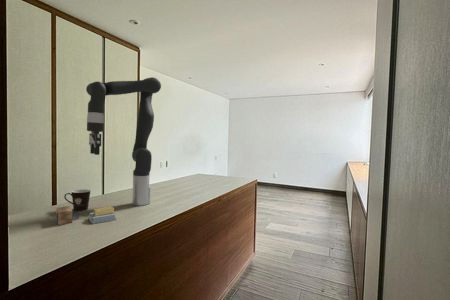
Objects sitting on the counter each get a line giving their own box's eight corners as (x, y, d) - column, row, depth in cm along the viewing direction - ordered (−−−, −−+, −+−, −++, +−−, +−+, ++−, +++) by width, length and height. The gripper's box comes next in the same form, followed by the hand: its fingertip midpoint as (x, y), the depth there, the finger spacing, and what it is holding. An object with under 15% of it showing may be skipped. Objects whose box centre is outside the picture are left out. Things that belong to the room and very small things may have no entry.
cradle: (110, 215, 121) (111, 209, 120) (116, 219, 114) (116, 214, 114) (88, 218, 114) (88, 213, 114) (92, 223, 108) (92, 218, 108)
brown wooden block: (69, 217, 114) (69, 206, 114) (71, 222, 108) (72, 210, 107) (56, 219, 111) (56, 207, 111) (58, 225, 104) (58, 212, 104)
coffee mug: (93, 208, 130) (94, 190, 130) (80, 212, 122) (80, 193, 121) (76, 205, 133) (77, 188, 133) (62, 210, 125) (62, 191, 125)
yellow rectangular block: (111, 214, 119) (111, 206, 118) (113, 216, 116) (114, 208, 116) (93, 217, 113) (93, 209, 113) (95, 219, 110) (95, 211, 110)
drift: (75, 218, 115) (75, 211, 115) (78, 219, 113) (78, 213, 113) (54, 223, 107) (54, 216, 107) (57, 224, 106) (57, 217, 106)
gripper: (107, 122, 118) (106, 155, 119) (100, 123, 129) (99, 153, 130) (90, 121, 114) (89, 155, 114) (84, 121, 124) (83, 153, 125)
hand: (94, 154), depth 122 cm, fingers open, 8 cm apart
